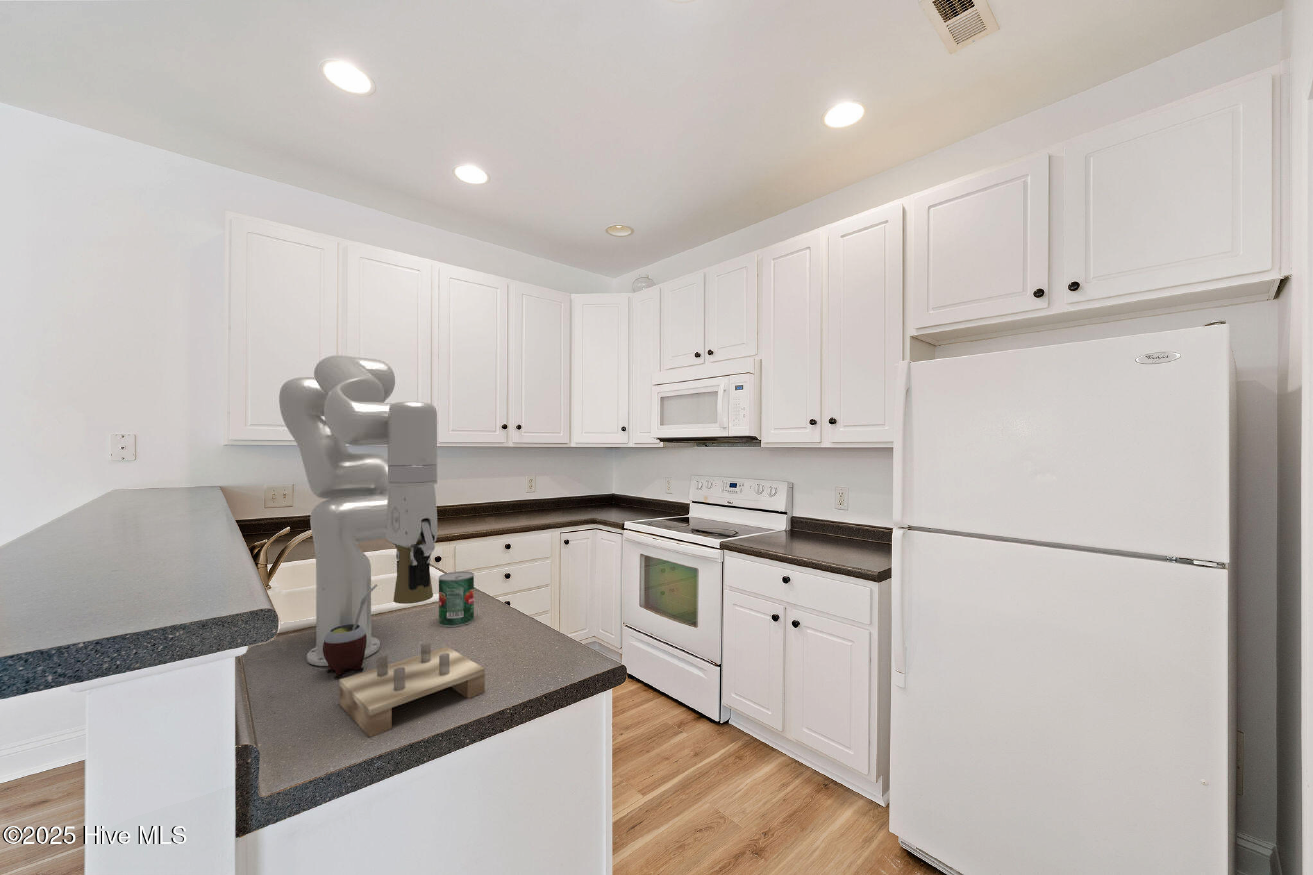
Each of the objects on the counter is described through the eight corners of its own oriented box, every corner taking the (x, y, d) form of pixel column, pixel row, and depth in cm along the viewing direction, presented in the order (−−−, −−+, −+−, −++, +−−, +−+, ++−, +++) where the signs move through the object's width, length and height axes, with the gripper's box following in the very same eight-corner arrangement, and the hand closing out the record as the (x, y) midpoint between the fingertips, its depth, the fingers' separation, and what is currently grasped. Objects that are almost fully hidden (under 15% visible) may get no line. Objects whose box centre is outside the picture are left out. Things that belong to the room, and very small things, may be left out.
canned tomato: (433, 621, 123) (433, 575, 123) (466, 613, 128) (466, 569, 128) (445, 630, 117) (445, 581, 117) (479, 621, 122) (479, 575, 122)
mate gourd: (314, 680, 92) (314, 597, 92) (338, 662, 100) (338, 584, 100) (357, 679, 93) (357, 596, 93) (378, 660, 101) (378, 583, 101)
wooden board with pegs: (339, 703, 84) (339, 661, 84) (447, 667, 97) (447, 630, 97) (369, 737, 74) (369, 688, 74) (484, 692, 88) (484, 650, 88)
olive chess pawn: (438, 592, 89) (438, 529, 89) (424, 603, 83) (424, 535, 83) (403, 592, 89) (403, 529, 89) (386, 604, 83) (386, 535, 83)
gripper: (370, 475, 89) (371, 580, 89) (410, 479, 78) (410, 601, 78) (415, 472, 95) (415, 572, 94) (458, 476, 83) (458, 590, 83)
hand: (413, 584), depth 86 cm, fingers closed on olive chess pawn, 4 cm apart
